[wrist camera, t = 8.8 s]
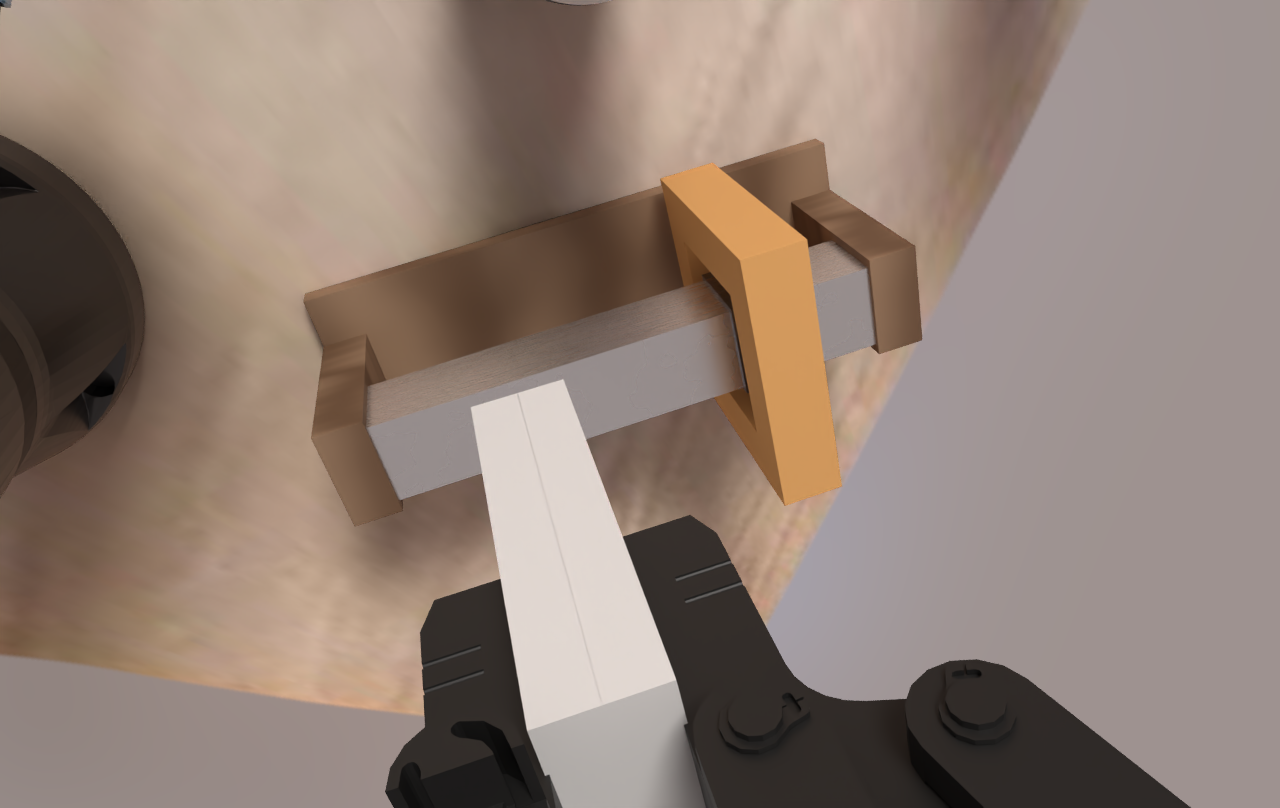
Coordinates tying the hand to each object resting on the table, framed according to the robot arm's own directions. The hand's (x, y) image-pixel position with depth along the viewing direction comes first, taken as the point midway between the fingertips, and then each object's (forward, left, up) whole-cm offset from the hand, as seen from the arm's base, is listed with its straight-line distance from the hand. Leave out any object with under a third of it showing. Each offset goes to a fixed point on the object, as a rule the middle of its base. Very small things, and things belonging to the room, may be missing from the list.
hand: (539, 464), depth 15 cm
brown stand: (+4, -11, -29) cm, 31 cm away
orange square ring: (+10, -11, -27) cm, 31 cm away
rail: (+4, -11, -24) cm, 26 cm away
